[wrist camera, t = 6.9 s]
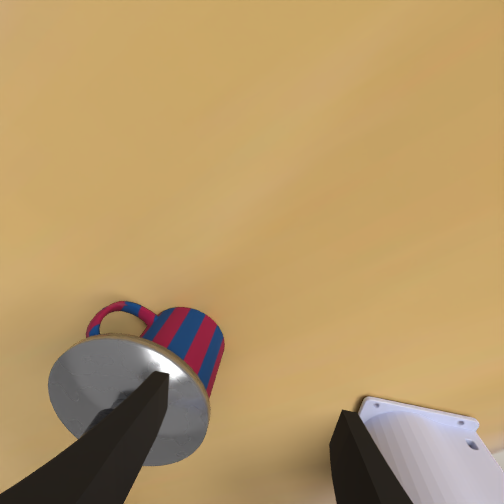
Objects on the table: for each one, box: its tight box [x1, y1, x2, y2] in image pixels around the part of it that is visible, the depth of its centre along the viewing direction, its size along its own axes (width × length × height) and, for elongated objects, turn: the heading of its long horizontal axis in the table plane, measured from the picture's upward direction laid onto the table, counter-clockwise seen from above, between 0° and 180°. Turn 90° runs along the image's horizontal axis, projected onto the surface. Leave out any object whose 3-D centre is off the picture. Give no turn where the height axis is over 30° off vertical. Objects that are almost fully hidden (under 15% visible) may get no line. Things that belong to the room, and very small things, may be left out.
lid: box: [48, 333, 211, 466], centre depth 15 cm, size 10×10×4 cm
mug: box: [86, 301, 225, 398], centre depth 20 cm, size 7×10×7 cm
